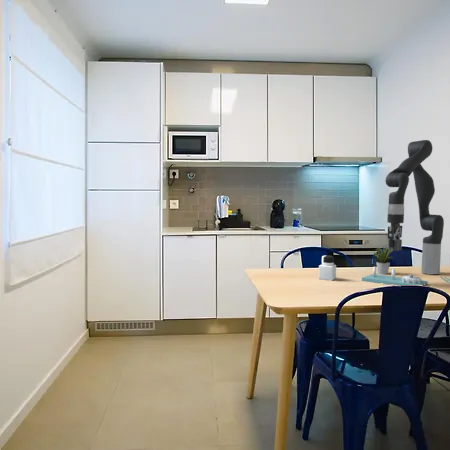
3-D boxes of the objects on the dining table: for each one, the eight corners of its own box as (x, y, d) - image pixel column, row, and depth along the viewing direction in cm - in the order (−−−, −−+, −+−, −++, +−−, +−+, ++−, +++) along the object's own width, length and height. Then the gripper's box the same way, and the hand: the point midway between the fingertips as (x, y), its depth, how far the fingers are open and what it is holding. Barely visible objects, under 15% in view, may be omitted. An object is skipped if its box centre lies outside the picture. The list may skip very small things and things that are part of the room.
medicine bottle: (336, 278, 212) (336, 255, 211) (332, 280, 205) (332, 257, 205) (322, 276, 215) (323, 254, 214) (318, 279, 209) (319, 256, 208)
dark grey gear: (390, 248, 207) (390, 238, 206) (403, 249, 203) (403, 239, 202) (385, 249, 202) (386, 239, 202) (398, 250, 198) (399, 240, 197)
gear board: (373, 276, 218) (373, 264, 217) (427, 284, 200) (428, 270, 199) (361, 280, 206) (362, 267, 206) (418, 288, 189) (418, 274, 188)
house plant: (393, 271, 234) (395, 243, 233) (402, 276, 220) (403, 246, 219) (368, 270, 235) (369, 242, 234) (374, 275, 221) (375, 245, 220)
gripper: (393, 212, 209) (391, 245, 210) (382, 213, 198) (381, 247, 199) (408, 213, 204) (406, 246, 205) (398, 213, 193) (397, 248, 194)
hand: (394, 246), depth 202 cm, fingers closed on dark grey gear, 6 cm apart
